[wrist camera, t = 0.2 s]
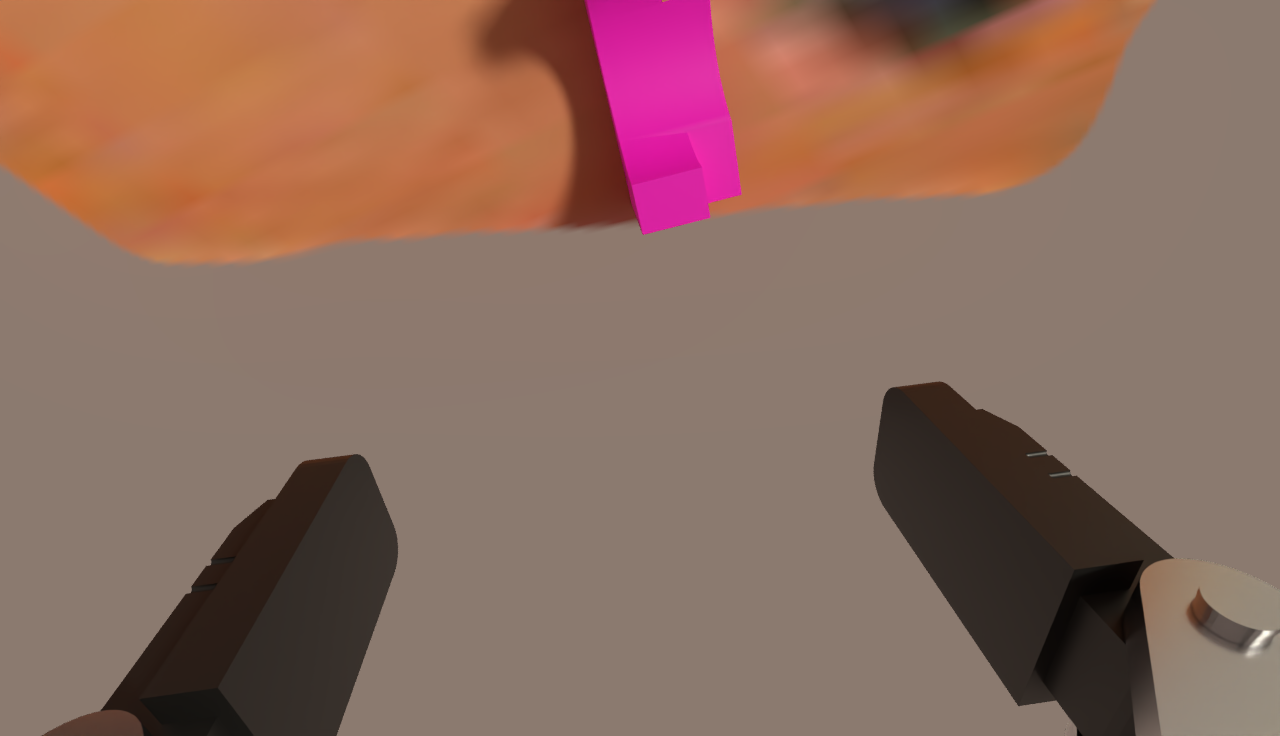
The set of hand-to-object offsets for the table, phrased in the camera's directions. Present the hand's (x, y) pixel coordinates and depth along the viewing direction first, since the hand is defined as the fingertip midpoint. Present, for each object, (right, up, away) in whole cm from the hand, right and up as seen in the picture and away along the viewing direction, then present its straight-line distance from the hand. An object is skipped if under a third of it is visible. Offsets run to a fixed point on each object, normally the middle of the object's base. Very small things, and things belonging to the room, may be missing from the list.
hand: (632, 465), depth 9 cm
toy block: (+1, +19, +25) cm, 32 cm away
